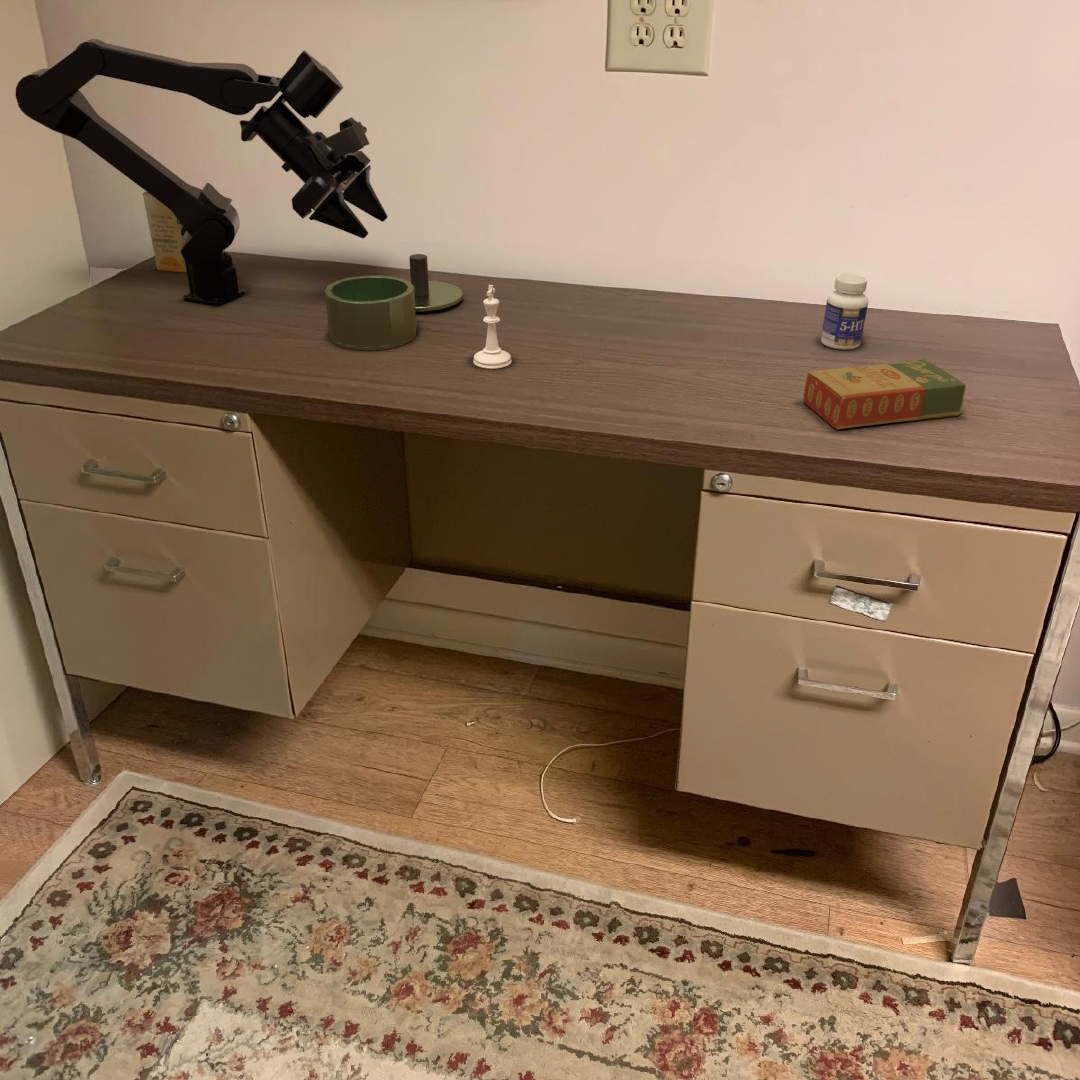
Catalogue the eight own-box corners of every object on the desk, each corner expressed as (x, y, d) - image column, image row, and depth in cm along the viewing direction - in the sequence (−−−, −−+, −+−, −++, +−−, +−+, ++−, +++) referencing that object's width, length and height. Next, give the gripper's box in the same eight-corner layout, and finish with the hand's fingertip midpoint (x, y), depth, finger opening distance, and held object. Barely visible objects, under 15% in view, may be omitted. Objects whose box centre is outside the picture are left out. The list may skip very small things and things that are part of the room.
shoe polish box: (201, 263, 168) (188, 187, 162) (185, 272, 164) (171, 195, 158) (173, 261, 169) (159, 186, 163) (157, 270, 165) (142, 193, 159)
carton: (801, 403, 122) (806, 369, 120) (919, 389, 125) (926, 355, 123) (836, 432, 115) (842, 396, 113) (961, 416, 119) (969, 381, 116)
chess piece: (516, 357, 134) (516, 281, 128) (503, 371, 130) (502, 293, 124) (481, 352, 135) (479, 277, 130) (467, 365, 131) (464, 289, 126)
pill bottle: (838, 353, 135) (849, 287, 131) (812, 340, 139) (822, 275, 135) (869, 346, 137) (881, 281, 133) (842, 334, 141) (853, 270, 137)
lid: (372, 314, 147) (368, 268, 144) (385, 287, 158) (382, 243, 154) (458, 316, 147) (456, 269, 143) (466, 288, 158) (464, 245, 154)
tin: (313, 342, 138) (307, 295, 134) (359, 316, 147) (355, 271, 143) (388, 356, 134) (384, 307, 130) (431, 327, 143) (428, 281, 139)
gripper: (304, 112, 132) (393, 204, 136) (351, 90, 147) (429, 174, 152) (254, 173, 137) (341, 260, 141) (305, 146, 153) (381, 225, 157)
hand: (376, 227), depth 148 cm, fingers open, 9 cm apart
